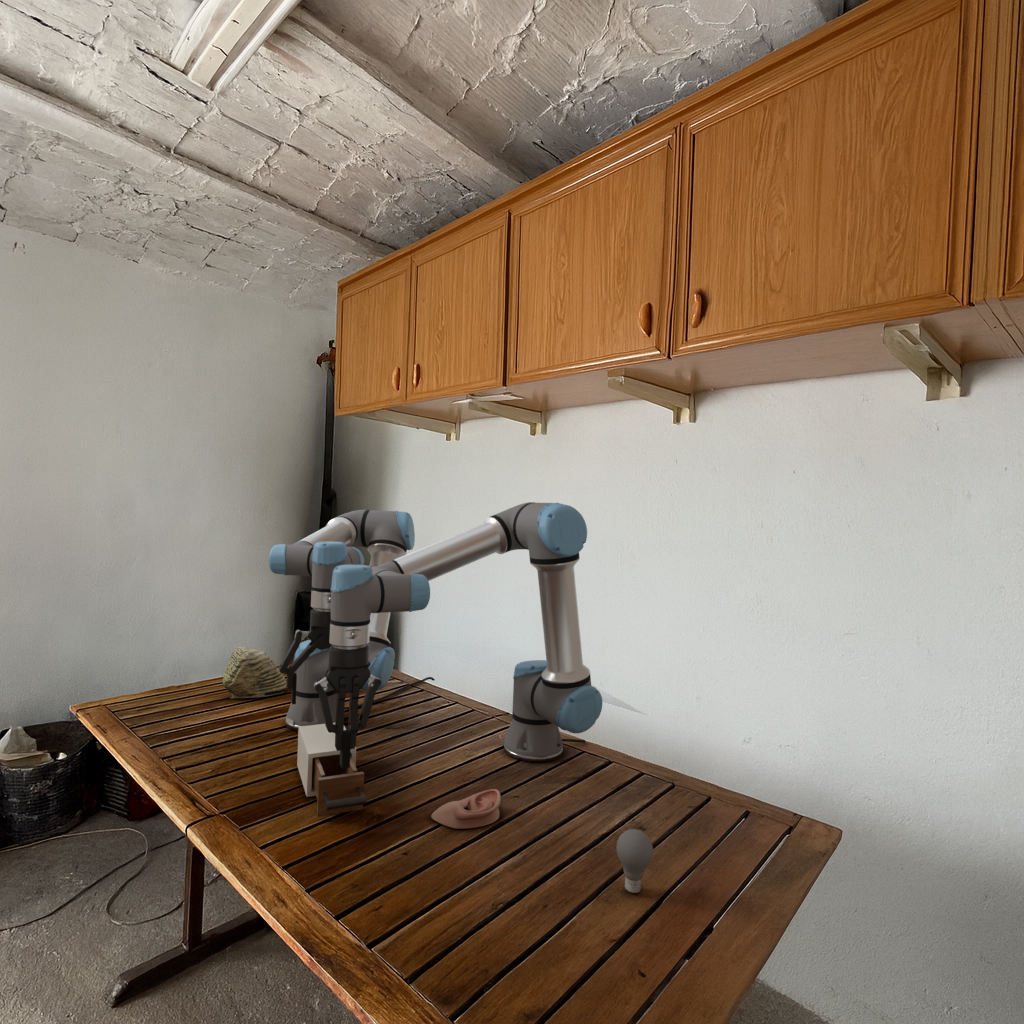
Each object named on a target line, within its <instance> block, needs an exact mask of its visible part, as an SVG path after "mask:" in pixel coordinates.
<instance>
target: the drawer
mask: <svg viewBox="0 0 1024 1024" xmlns="http://www.w3.org/2000/svg"><path fill="white" fill-rule="evenodd" d="M312 785H313V788H314V791H315V794H316V796H315V798H316V816H317V817H318V818H319V817H325V816H331V815H337V814H343V813H348V812H354V811H355V812H356V811H360V810H363V809H364V805H367V803H368V797H367V795H365V793H364V792H365V791H364V790H365V789H364V788H365V773H364V771H358V769H357V766H356V767H355V765H354V763H353V761H352V759H351V757H350V768H345V769H342V768H341V766H340V754H338V755H330V756H322V757H315V758H313V761H312Z"/></svg>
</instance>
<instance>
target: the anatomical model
mask: <svg viewBox="0 0 1024 1024" xmlns="http://www.w3.org/2000/svg"><path fill="white" fill-rule="evenodd" d="M501 802H502V796H501V792H500V791H499V790H498V789H496V788H491V789H486V790H483V791H480V792H477V793H474V794H472V795H469V796H468V797H465V798H463V799H460V800H452V801H449V802H447V803H445V804H443V805H441V806H439V807H438V808H437V809H435V810H434V811H433V812H432V814H431V815H430V817H431V819H432V820H433V821H435V822H436V823H439V824H440V825H442V826H445V827H448V828H450V829H458V830H459V829H464V830H465V829H474V828H479V827H480V828H481V827H484V826H488V825H491V824H492V823H495V822H496V821H497V820H498V819H499V818H500V814H501V813H500V809H499V807H500V805H501Z"/></svg>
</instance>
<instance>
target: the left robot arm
mask: <svg viewBox="0 0 1024 1024" xmlns="http://www.w3.org/2000/svg"><path fill="white" fill-rule="evenodd" d="M415 537H416V536H415V525H414V519H413V517H412V514H411V513H409V512H407V511H398V510H379V509H378V510H375V509H357V510H352V511H349V512H345V513H343V514H340V515H338V516H335V517H334V518H331V519H330V520H329V521H328V522H327V523H326V525H325V526H324V527H322V528H320V529H319V530H318V529H317V531H314V532H313V533H311V534H309V535H307V536H306V537H304V538H302V539H300V540H298V541H296V542H294V543H292V544H287V543H283V544H282V543H281V544H279V543H278V544H275V545H273V546H272V547H271V549H270V552H269V555H268V567H269V570H270V571H271V573H273V574H275V575H284V576H296V577H297V576H300V577H311V593H310V594H311V595H310V607H311V608H312V609H311V610H310V617H309V618H310V619H309V620H310V621H309V629H308V631H307V630H300V629H296V630H295V632H294V639H293V641H292V642H291V644H290V646H289V648H288V649H287V651H286V653H285V655H284V657H283V659H282V660H281V662H280V664H279V665H278V666H279V667H278V669H279V671H280V673H282V674H285V675H286V685H287V687H286V689H288V690H291V691H290V693H291V694H290V696H291V697H290V704H289V708H288V711H287V713H286V715H285V726H286V728H287V729H289V730H291V731H294V732H295V731H296V732H298V731H299V726H309V725H318V724H325V721H324V716H323V712H322V707H321V702H320V698H319V694H318V693H317V691H316V690H315V688H314V686H313V684H314V682H315V681H318V682H319V681H320V680H322V679H323V678H324V677H325V674H326V672H327V670H328V664H329V648H330V646H331V644H330V643H329V638H330V621H331V585H332V576H333V570H334V569H335V568H336V567H337V566H339V565H365V556H364V553H362V551H361V550H360V549H358V548H367V552H368V554H369V555H370V561H369V565H368V566H370V565H378V566H379V565H382V564H384V563H387V562H390V561H392V560H395V559H397V558H400V557H402V556H405V555H407V551H411V550H413V549H414V547H415V542H416V540H415ZM391 613H392V612H385V613H371V615H370V631H369V643H368V644H366V645H367V646H368V647H369V660H368V668H369V670H370V672H371V675H373V676H375V677H378V678H379V679H380V680H381V685H380V686H379V688H378V689H377V691H379V690H382V689H384V688H385V687H386V686H387V684H388V683H389V681H390V680H391V677H392V674H393V671H394V666H395V658H396V653H395V650H394V648H393V647H391V641H390V640H389V639H388V637H387V635H388V629H389V623H390V618H391ZM306 638H308V639H307V640H305V639H306ZM293 658H294V659H293ZM292 660H293V662H292ZM291 662H292V663H291ZM290 663H291V664H290ZM428 680H431V681H436V679H435V678H434V677H432V676H428V677H425V678H422V679H421V680H417V681H414V682H412V683H409V684H407V685H405V686H403V687H401V688H399V689H397V690H394V691H392V692H390V693H388V694H386V695H383V696H381V697H379V698H376V699H375V698H374V700H373V704H374V703H377V702H379V701H383V700H385V699H387V698H390V697H392V696H394V695H396V694H397V693H399V692H402V691H404V690H406V689H407V688H410V687H412V686H415V685H419V684H421V683H423V682H426V681H428ZM367 682H368V680H367V681H366V683H365V684H364V685H363V687H362V688H361V690H364V691H366V690H367V687H368V684H367ZM327 687H328V688H327V690H326V691H325V692H326V695H327V698H328V703H329V708H330V712H331V717H332V721H333V723H335V716H336V692H335V690H334V689H333V688H332V686H331V685H330V684H329V682H328V684H327ZM362 705H363V703H358V708H362ZM347 710H348V711H349V706H345V708H344V711H347Z"/></svg>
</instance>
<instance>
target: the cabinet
mask: <svg viewBox="0 0 1024 1024" xmlns="http://www.w3.org/2000/svg"><path fill="white" fill-rule="evenodd" d="M333 724H335V723H333ZM344 730H347V728H346V726H345V725H344ZM297 733H298V734H297V758H296V759H297V760H296V766H297V770H298V773H299V776H300V779H301V782H302V786H303V789H304V792H305V796H306V797H307V798H308V797H316V794H315V791H314V788H313V785H312V761H313V758H315V757H322V756H330V755H338V754H340V751H337V750H336V748H335V733H329V732H328V730H327V728H326V725H325V724H318V725H309V726H299V731H297ZM350 757H351V759H352V761H353V763H354V765H355V767H356V768H357V746H356V747H355V749H350Z"/></svg>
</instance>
